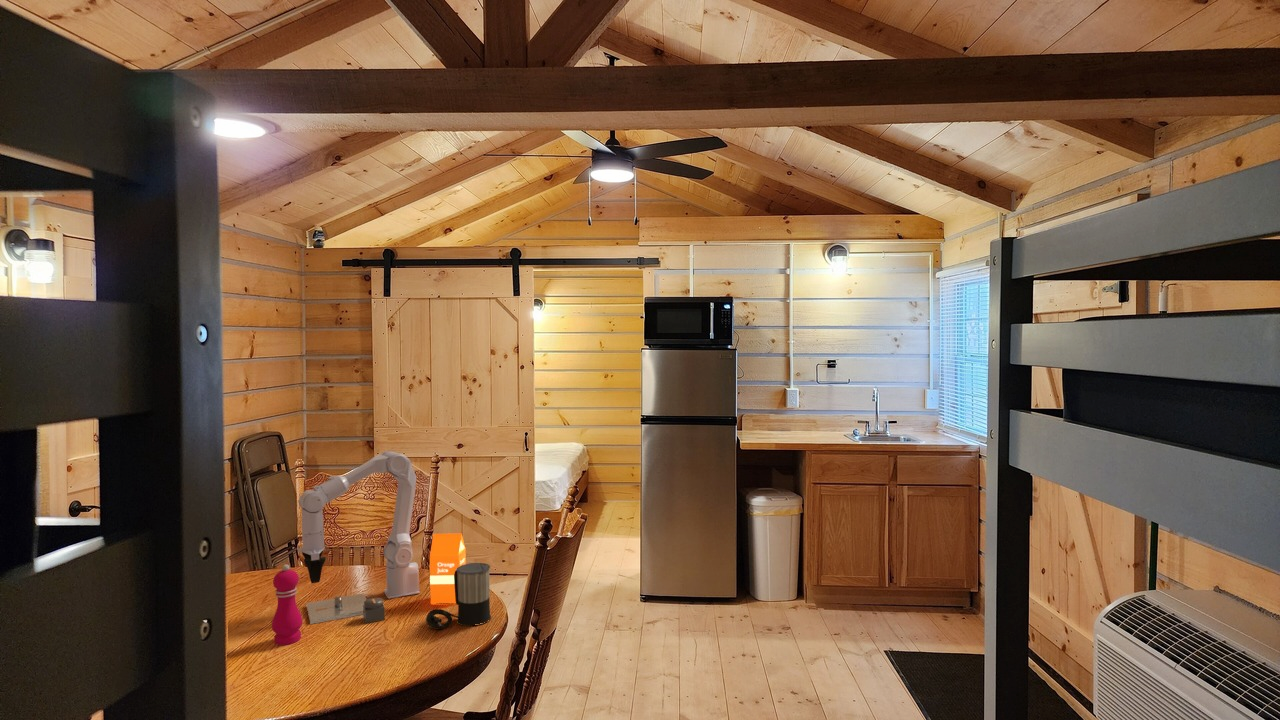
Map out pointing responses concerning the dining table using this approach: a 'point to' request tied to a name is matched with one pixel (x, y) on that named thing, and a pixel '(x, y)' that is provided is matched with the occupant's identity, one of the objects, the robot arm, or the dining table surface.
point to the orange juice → (445, 566)
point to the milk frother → (467, 597)
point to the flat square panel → (335, 608)
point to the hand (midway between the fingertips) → (314, 578)
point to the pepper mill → (286, 608)
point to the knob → (373, 610)
